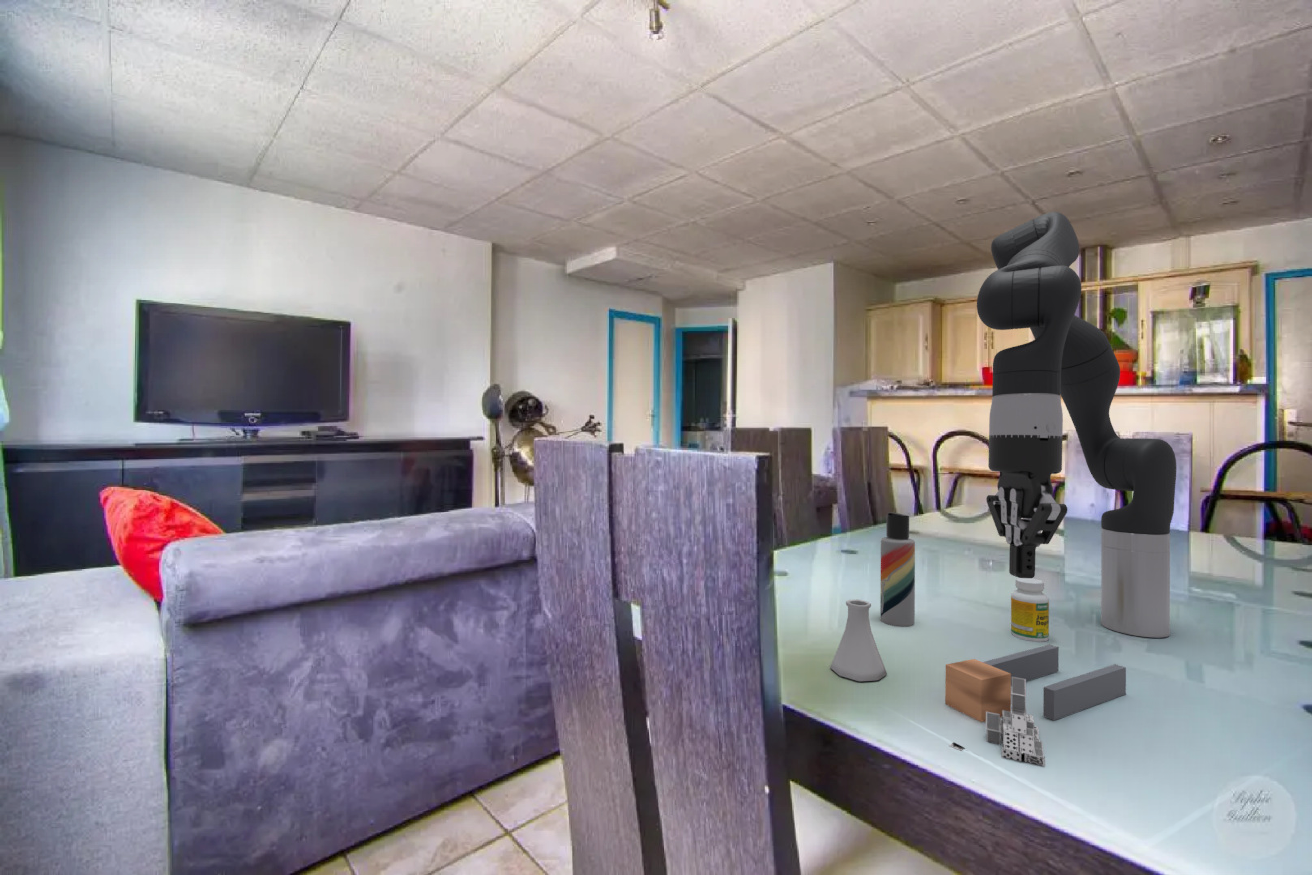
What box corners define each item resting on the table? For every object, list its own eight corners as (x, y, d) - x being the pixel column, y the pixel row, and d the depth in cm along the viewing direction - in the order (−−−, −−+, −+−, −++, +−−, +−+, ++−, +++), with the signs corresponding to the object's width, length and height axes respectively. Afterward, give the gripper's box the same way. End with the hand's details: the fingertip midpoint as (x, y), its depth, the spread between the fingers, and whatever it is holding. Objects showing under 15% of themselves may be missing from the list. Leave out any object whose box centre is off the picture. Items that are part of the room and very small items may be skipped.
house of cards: (953, 714, 71) (953, 651, 71) (1038, 732, 66) (1038, 665, 66) (948, 748, 63) (948, 677, 63) (1045, 771, 58) (1045, 695, 58)
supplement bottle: (1020, 630, 101) (1020, 575, 101) (1054, 639, 96) (1055, 581, 96) (1004, 635, 98) (1004, 579, 98) (1039, 645, 93) (1039, 585, 93)
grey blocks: (1049, 668, 84) (1049, 644, 84) (1125, 694, 75) (1125, 667, 75) (978, 689, 77) (978, 663, 77) (1054, 720, 68) (1054, 690, 68)
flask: (859, 687, 77) (859, 612, 77) (820, 668, 84) (820, 599, 84) (896, 677, 81) (897, 605, 81) (856, 659, 87) (857, 593, 87)
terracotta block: (973, 697, 74) (974, 658, 74) (1010, 715, 70) (1010, 673, 70) (945, 704, 73) (945, 664, 73) (981, 722, 68) (981, 680, 68)
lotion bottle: (874, 618, 107) (875, 510, 107) (904, 618, 107) (904, 510, 107) (889, 628, 101) (890, 514, 101) (920, 628, 102) (921, 514, 102)
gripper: (966, 434, 77) (963, 564, 77) (1025, 430, 64) (1022, 588, 63) (1024, 435, 77) (1021, 567, 76) (1095, 433, 63) (1092, 591, 63)
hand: (1021, 576), depth 70 cm, fingers closed
